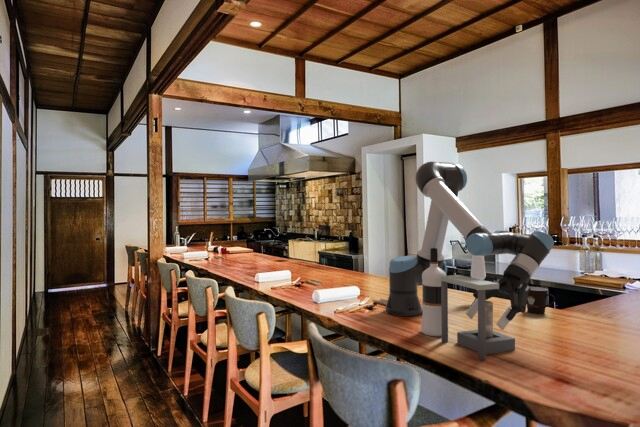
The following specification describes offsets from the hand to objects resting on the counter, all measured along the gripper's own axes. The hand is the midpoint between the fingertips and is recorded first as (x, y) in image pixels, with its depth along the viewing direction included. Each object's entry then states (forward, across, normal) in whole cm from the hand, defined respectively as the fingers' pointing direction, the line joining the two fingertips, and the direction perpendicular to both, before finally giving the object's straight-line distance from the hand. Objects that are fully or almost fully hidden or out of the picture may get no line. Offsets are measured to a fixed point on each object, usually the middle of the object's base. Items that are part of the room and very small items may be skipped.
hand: (483, 321), depth 129 cm
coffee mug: (-31, +26, -43) cm, 59 cm away
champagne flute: (-23, +50, -36) cm, 66 cm away
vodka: (+10, +18, -2) cm, 21 cm away
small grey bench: (+10, 0, -2) cm, 10 cm away
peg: (+5, 0, -6) cm, 8 cm away
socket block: (+5, 0, -6) cm, 8 cm away
